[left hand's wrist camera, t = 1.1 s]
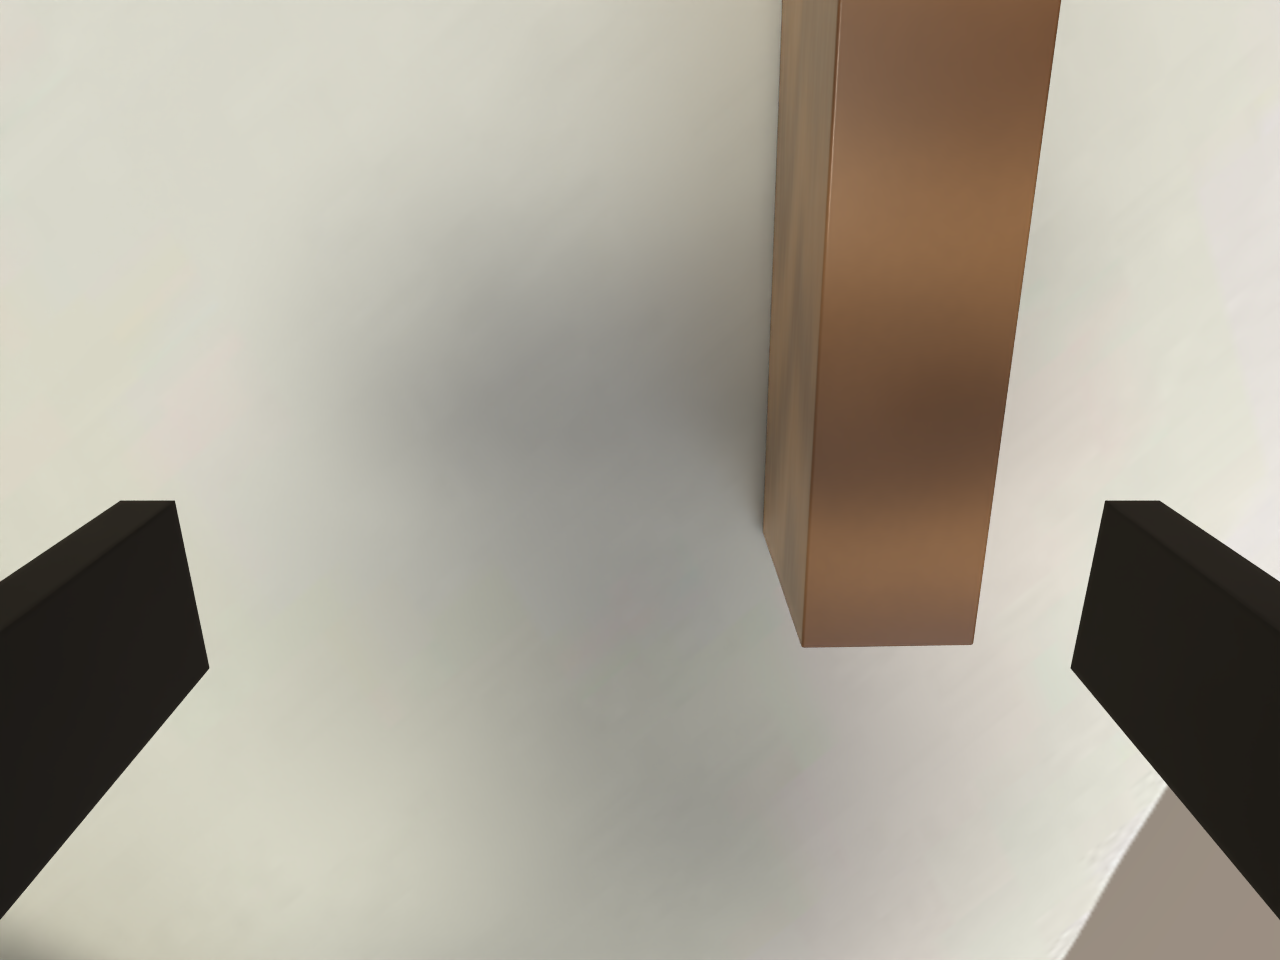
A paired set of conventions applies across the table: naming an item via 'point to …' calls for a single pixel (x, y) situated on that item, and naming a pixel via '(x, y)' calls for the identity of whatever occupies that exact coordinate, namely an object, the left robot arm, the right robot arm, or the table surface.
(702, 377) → the table surface
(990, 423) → the bar
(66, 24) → the table surface
